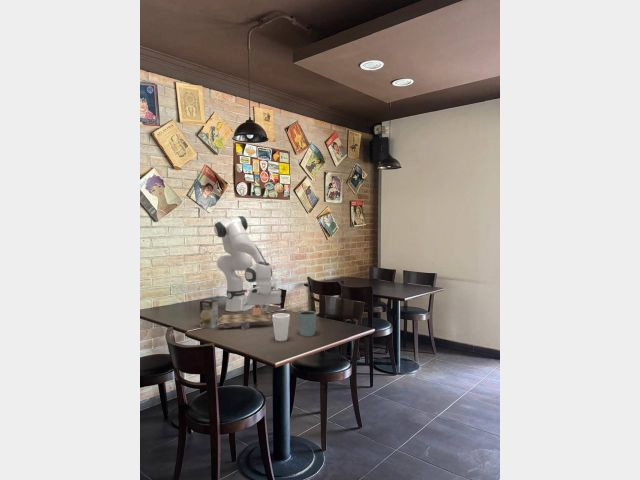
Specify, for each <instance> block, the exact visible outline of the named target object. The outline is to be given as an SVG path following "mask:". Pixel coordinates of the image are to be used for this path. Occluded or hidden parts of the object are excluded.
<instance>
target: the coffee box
mask: <svg viewBox="0 0 640 480" xmlns="http://www.w3.org/2000/svg"><path fill="white" fill-rule="evenodd" d="M218 301H219V300H218V299H211V298H204V299H202V300H201V299H200V300H199V327H200V328H207V329H214V328H216V327H218V326H219V302H218Z"/></svg>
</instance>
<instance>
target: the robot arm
mask: <svg viewBox="0 0 640 480" xmlns="http://www.w3.org/2000/svg"><path fill="white" fill-rule="evenodd" d="M248 226H249V225H248V220H247V219H246V217H245V216H241V215H240V216H235V217H229V218H228V219H227V218H226V219H224V220H221V221H218V222H216V223H214V226H213V231H214V233H215V235H216V237H218V238H221V242H222V246H223V247H222V248H223V250H224V252H225V253H227V254H226V255H221V256H219V257H217V260H216V266H217V268H218V269H219V270H220V271H221V272H222V273H223V275H224V276H225V280H226V288H227V289H226V304H225V309H224V310H225V311H227V312H246V311H248V310H252V307H253V306H260V307H261V313H268V312H267V311H268V308H269V305H280V304H281V303H282V297H281V296H282V290H281V289H280V288H272V281H271V278H272V277H273V270H272V268H271V264H270V263H269V262H268V261H266V259H265V258H264V255H263V254H262V253H261V251H260V249H259V248H258V246H257V245H256V244H255V243H254V242H253V241H252V240H251V238H250V237H249V236H248V233H247V229H248ZM253 260H254V261H253ZM254 262H255V265H253V263H254ZM236 271H237V272H239V271H240V272H243V271H244V277H245V280H246V281H247V283H256V286H255V285H254V286H253V287H250V288H249V289H244V280H243V278H242V277H241V276H240V275H239V274H237V273H236ZM246 293H247V295H246ZM263 305H265V307H264V308H263Z"/></svg>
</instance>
